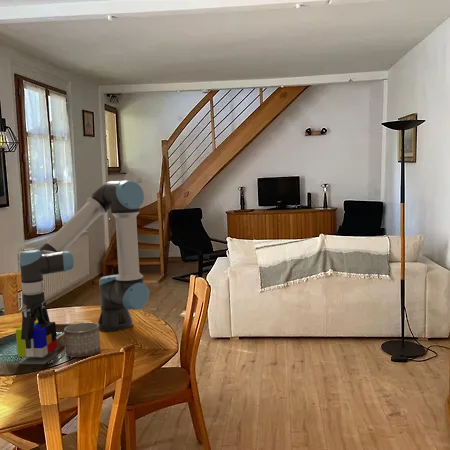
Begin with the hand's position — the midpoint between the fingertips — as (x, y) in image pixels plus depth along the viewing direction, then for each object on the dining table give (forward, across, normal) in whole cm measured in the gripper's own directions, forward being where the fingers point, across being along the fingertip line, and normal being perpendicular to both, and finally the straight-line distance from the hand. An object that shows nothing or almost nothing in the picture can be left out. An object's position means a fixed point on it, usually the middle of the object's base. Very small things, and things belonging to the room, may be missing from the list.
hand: (37, 351), depth 186 cm
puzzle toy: (+1, 0, 0) cm, 1 cm away
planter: (+3, -6, +15) cm, 16 cm away
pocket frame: (+3, -18, -4) cm, 19 cm away
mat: (+3, 0, 0) cm, 3 cm away
